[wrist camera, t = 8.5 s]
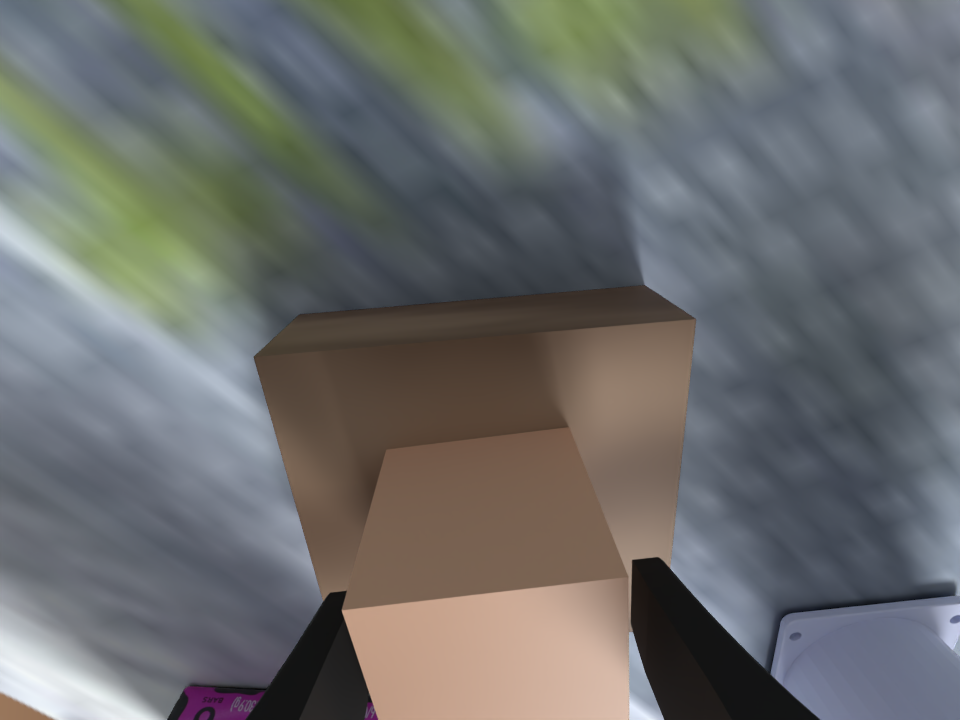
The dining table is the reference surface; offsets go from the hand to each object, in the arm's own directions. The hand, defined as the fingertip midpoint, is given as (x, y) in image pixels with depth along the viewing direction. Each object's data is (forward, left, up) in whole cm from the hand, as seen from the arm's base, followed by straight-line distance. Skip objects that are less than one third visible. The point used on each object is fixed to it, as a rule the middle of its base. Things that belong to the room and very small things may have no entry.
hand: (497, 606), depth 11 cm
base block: (0, 0, -7) cm, 7 cm away
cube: (0, 0, -3) cm, 3 cm away
